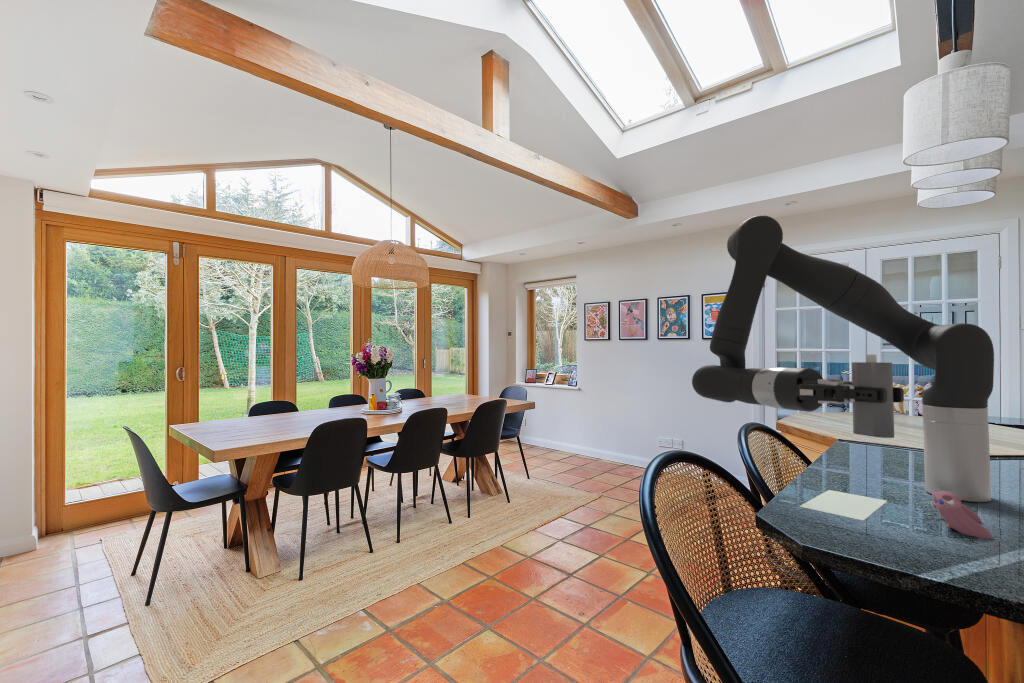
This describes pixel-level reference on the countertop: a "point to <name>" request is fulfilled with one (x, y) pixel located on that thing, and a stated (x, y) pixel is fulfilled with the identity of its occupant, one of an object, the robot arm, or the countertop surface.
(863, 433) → the candle
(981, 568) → the countertop surface
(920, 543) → the countertop surface
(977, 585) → the countertop surface
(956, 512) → the video game controller
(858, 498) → the mat
